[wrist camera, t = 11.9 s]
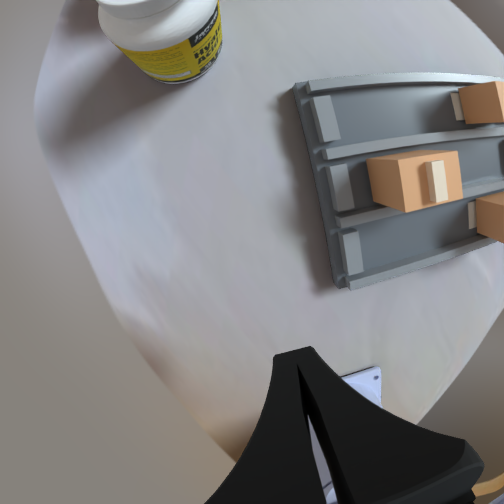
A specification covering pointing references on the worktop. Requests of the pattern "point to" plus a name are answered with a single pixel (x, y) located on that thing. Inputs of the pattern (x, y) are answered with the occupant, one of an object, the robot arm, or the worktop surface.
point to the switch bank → (386, 143)
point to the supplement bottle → (165, 35)
